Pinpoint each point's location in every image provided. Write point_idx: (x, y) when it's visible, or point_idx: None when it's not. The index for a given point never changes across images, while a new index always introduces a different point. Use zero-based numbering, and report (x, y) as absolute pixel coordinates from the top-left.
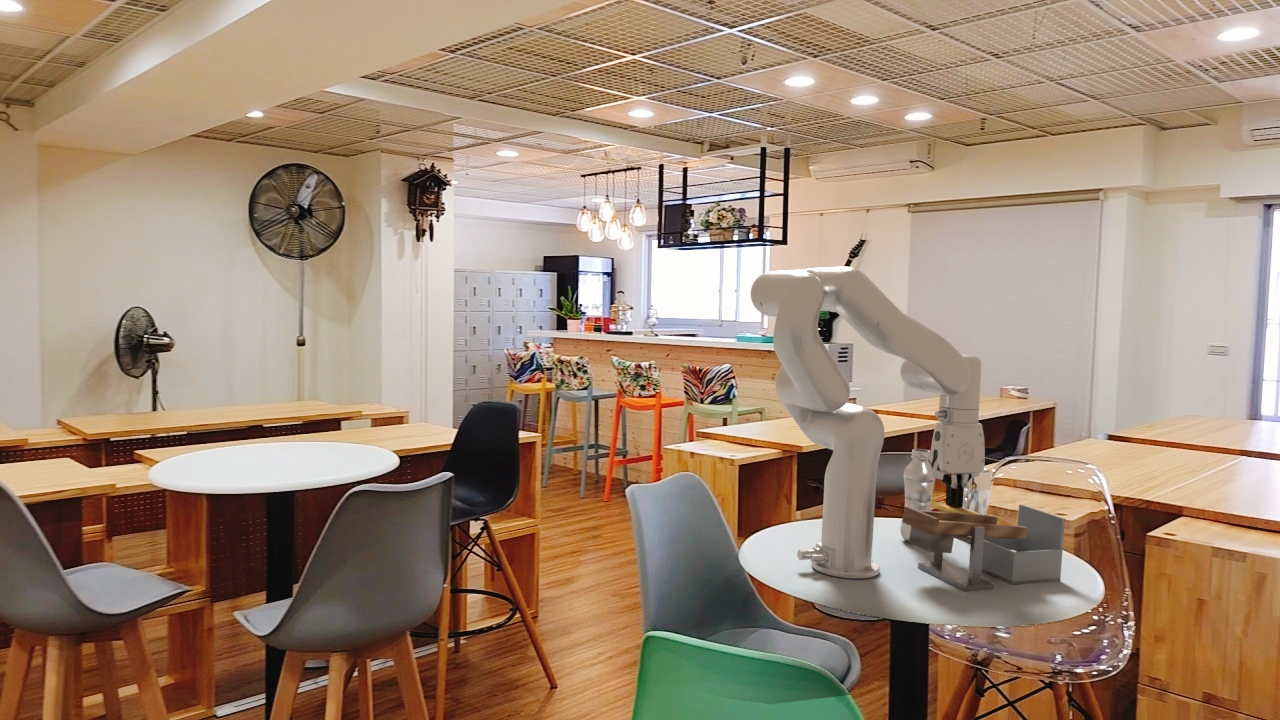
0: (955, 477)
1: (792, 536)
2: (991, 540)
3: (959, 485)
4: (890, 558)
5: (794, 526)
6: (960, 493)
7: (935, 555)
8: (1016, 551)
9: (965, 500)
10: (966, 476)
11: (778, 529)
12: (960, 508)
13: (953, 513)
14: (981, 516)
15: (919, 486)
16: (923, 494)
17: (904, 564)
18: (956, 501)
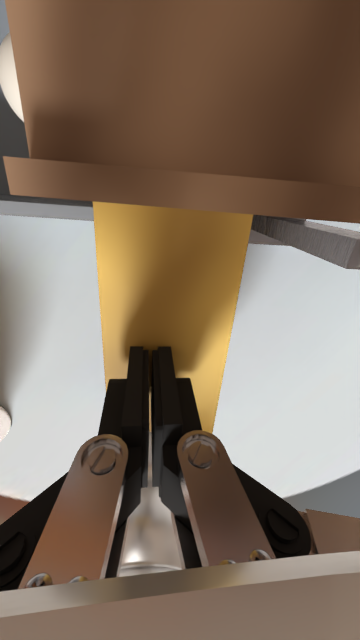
0: (212, 528)
1: (342, 451)
2: (59, 203)
3: (136, 460)
4: (290, 319)
5: (292, 488)
6: (145, 398)
7: (288, 217)
8: (11, 61)
9: None
10: (65, 547)
11: (329, 479)
12: (143, 341)
13: (344, 199)
14: (137, 168)
15: (172, 543)
16: (154, 507)
17: (299, 275)
18: (171, 364)
